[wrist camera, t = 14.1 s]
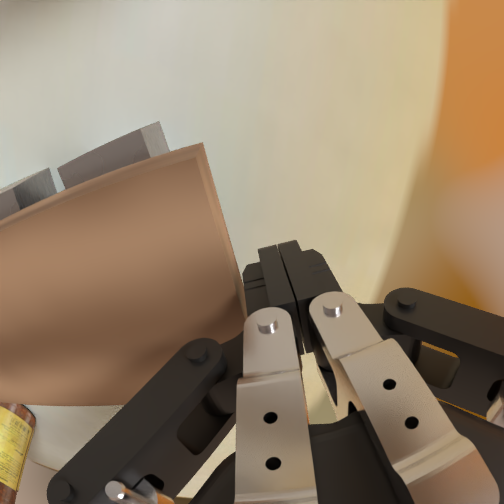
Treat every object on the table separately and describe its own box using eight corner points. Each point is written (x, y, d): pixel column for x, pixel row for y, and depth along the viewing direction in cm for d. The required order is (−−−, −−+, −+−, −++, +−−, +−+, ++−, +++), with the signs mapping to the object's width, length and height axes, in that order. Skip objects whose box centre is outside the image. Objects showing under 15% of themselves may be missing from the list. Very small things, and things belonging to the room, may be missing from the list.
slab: (-60, 255, 11) (-86, 280, 9) (202, 142, 11) (195, 157, 8) (16, 372, 16) (1, 402, 13) (259, 339, 16) (266, 385, 13)
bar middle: (6, 186, 14) (-33, 210, 10) (51, 165, 14) (12, 188, 10) (76, 336, 20) (59, 376, 16) (121, 332, 20) (107, 375, 16)
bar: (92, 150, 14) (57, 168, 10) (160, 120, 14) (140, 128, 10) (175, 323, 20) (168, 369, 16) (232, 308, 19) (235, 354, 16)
